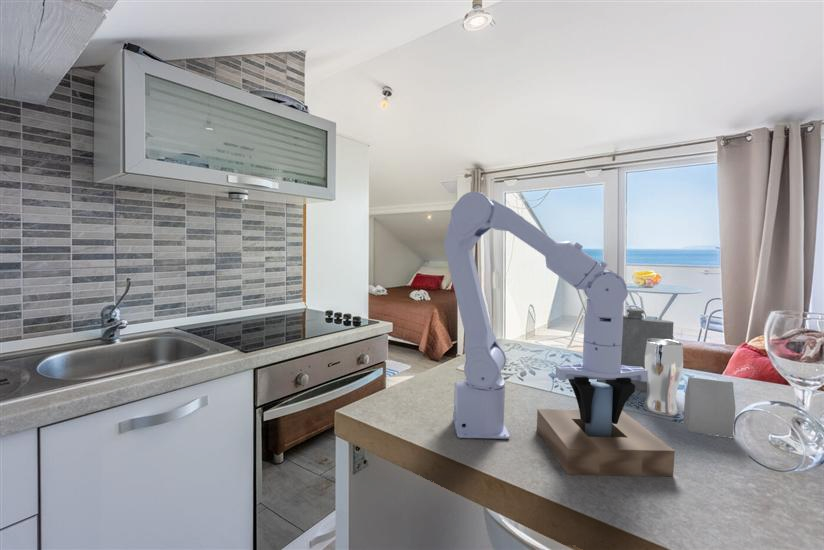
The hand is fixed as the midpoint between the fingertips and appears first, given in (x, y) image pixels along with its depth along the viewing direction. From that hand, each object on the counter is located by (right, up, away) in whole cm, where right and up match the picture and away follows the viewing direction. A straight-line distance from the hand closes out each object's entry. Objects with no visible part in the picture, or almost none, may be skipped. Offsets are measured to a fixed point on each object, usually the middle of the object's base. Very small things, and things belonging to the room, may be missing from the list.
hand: (598, 421), depth 62 cm
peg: (0, -3, 0) cm, 3 cm away
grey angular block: (+25, -5, +8) cm, 27 cm away
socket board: (0, -5, 0) cm, 5 cm away
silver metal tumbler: (+22, -5, +17) cm, 28 cm away
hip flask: (+24, -4, +31) cm, 40 cm away
